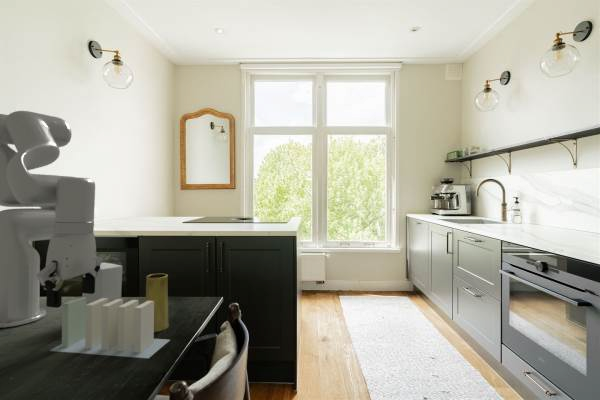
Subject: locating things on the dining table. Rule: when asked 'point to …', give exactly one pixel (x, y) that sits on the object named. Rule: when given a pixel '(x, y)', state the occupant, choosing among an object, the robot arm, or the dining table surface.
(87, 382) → the dining table surface
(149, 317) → the tile
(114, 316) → the tile
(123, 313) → the tile
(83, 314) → the sage green rectangular block
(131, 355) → the runner mat
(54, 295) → the robot arm
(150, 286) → the vase
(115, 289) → the skincare box
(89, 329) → the tile
